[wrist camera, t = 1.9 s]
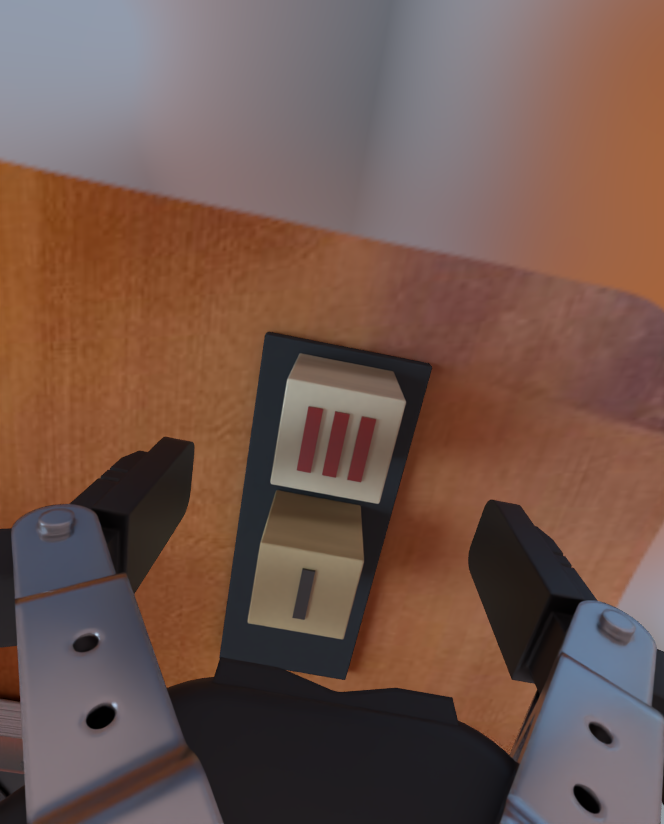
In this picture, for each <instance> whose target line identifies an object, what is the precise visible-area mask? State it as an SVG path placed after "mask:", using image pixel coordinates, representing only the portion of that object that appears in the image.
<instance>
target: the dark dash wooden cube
mask: <svg viewBox="0 0 664 824" xmlns="http://www.w3.org/2000/svg"><path fill="white" fill-rule="evenodd" d="M363 564H364V552H363V536H362V519H361V506H360V505H355V504H350V503H344V502H339V501H333V500H328V499H323V498H317V497H312V496H306V495H301V494H295V493H290V492H285V491H279V490H276V492H275V495H274V499H273V502H272V505H271V509H270V512H269V515H268V519H267V522H266V526H265V529H264V532H263V536H262V539H261V542H260V548H259V554H258V560H257V566H256V572H255V578H254V585H253V591H252V597H251V603H250V609H249V615H248V623H250V624H256V625H262V626H267V627H273V628H279V629H285V630H291V631H296V632H302V633H308V634H314V635H319V636H325V637H331V638H337V639H343V638H344V636H345V632H346V628H347V624H348V620H349V617H350V613H351V609H352V605H353V602H354V598H355V594H356V590H357V586H358V583H359V579H360V575H361V571H362V568H363Z"/></svg>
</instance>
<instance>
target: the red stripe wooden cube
mask: <svg viewBox="0 0 664 824" xmlns="http://www.w3.org/2000/svg"><path fill="white" fill-rule="evenodd" d="M405 405H406V401H405V398H404V396H403V393H402V391H401V389H400V386H399V384H398V381H397V379H396V376H395V374H394V372H393V371H388V370H383V369H378V368H373V367H368V366H363V365H358V364H352V363H347V362H342V361H337V360H332V359H327V358H322V357H317V356H312V355H307V354H302V353H301V354H299V356H298V358H297V360H296V362H295V364H294V366H293V368H292V370H291V372H290V375H289V377H288V379H287V383H286V389H285V395H284V401H283V407H282V413H281V420H280V426H279V432H278V438H277V444H276V450H275V456H274V462H273V468H272V474H271V480H270V482H271V484H273V485H279V486H284V487H290V488H295V489H301V490H306V491H311V492H317V493H322V494H328V495H333V496H338V497H344V498H349V499H355V500H360V501H365V502H371V503H376V504H379V502H380V499H381V495H382V492H383V488H384V484H385V480H386V477H387V473H388V469H389V465H390V461H391V458H392V454H393V450H394V446H395V443H396V439H397V435H398V431H399V427H400V424H401V420H402V416H403V412H404V409H405Z"/></svg>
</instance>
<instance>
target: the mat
mask: <svg viewBox="0 0 664 824" xmlns="http://www.w3.org/2000/svg"><path fill="white" fill-rule="evenodd" d="M301 353H302V354H307V355H312V356H317V357H322V358H327V359H332V360H337V361H342V362H347V363H352V364H358V365H363V366H368V367H373V368H378V369H383V370H388V371H393V372H394V374H395V376H396V379H397V381H398V384H399V386H400V389H401V391H402V393H403V396H404V398H405V401H406V405H405V409H404V412H403V416H402V420H401V424H400V427H399V431H398V435H397V439H396V443H395V446H394V450H393V454H392V458H391V461H390V465H389V469H388V473H387V477H386V480H385V484H384V488H383V492H382V495H381V499H380V502H379V504H376V503H371V502H365V501H360V500H355V499H349V498H344V497H338V496H333V495H328V494H322V493H317V492H311V491H306V490H301V489H295V488H290V487H284V486H279V485H273V484H271V482H270V480H271V474H272V468H273V462H274V456H275V450H276V444H277V438H278V432H279V426H280V420H281V413H282V407H283V401H284V395H285V389H286V383H287V379H288V377H289V375H290V372H291V370H292V368H293V366H294V364H295V362H296V360H297V358H298V356H299V354H301ZM431 370H432V366H431V365H430V364H429V363H424V362H419V361H414V360H409V359H404V358H399V357H394V356H389V355H384V354H379V353H374V352H369V351H364V350H359V349H354V348H349V347H344V346H338V345H333V344H328V343H323V342H318V341H313V340H308V339H303V338H298V337H293V336H288V335H283V334H278V333H273V332H267V333H266V334H265V339H264V346H263V353H262V360H261V367H260V375H259V382H258V389H257V396H256V403H255V410H254V417H253V424H252V431H251V438H250V445H249V452H248V459H247V466H246V474H245V481H244V488H243V495H242V502H241V509H240V516H239V523H238V530H237V537H236V544H235V551H234V558H233V565H232V572H231V580H230V587H229V594H228V601H227V608H226V615H225V622H224V629H223V636H222V643H221V650H220V657H224V658H229V659H235V660H241V661H246V662H252V663H258V664H263V665H269V666H275V667H279V668H281V669H284V670H289V671H295V672H301V673H307V674H313V675H319V676H325V677H330V678H336V679H342V680H345V679H346V675H347V672H348V668H349V665H350V661H351V657H352V654H353V650H354V647H355V643H356V639H357V636H358V632H359V629H360V625H361V621H362V618H363V614H364V611H365V607H366V603H367V600H368V596H369V593H370V589H371V585H372V582H373V578H374V575H375V571H376V568H377V564H378V560H379V557H380V553H381V550H382V546H383V542H384V539H385V535H386V532H387V528H388V524H389V521H390V517H391V514H392V510H393V506H394V503H395V499H396V496H397V492H398V488H399V485H400V481H401V478H402V474H403V470H404V467H405V463H406V460H407V456H408V452H409V449H410V445H411V442H412V438H413V434H414V431H415V427H416V424H417V420H418V416H419V413H420V409H421V406H422V402H423V398H424V395H425V391H426V388H427V384H428V381H429V377H430V373H431ZM276 490H279V491H285V492H290V493H295V494H301V495H306V496H312V497H317V498H323V499H328V500H333V501H339V502H344V503H350V504H355V505H360V506H361V519H362V536H363V552H364V564H363V568H362V571H361V575H360V579H359V583H358V586H357V590H356V594H355V598H354V602H353V605H352V609H351V613H350V617H349V620H348V624H347V628H346V632H345V636H344V638H343V639H337V638H331V637H325V636H319V635H314V634H308V633H302V632H296V631H291V630H285V629H279V628H273V627H267V626H262V625H256V624H250V623H248V615H249V609H250V603H251V597H252V591H253V585H254V578H255V572H256V566H257V560H258V554H259V548H260V542H261V539H262V536H263V532H264V529H265V526H266V522H267V519H268V515H269V512H270V509H271V505H272V502H273V499H274V495H275V492H276ZM220 657H219V658H220Z"/></svg>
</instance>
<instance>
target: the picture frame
mask: <svg viewBox="0 0 664 824" xmlns="http://www.w3.org/2000/svg"><path fill="white" fill-rule="evenodd" d="M23 785H25V776H24V758H23V740H22V722H21V704H20V702H17V701H12V700H5V699H0V802H1V801H2V800H4V799H5V798H6V797H8V796H9V795H11V794H12V793H13V792H15V791H16V790H18V789H19V788H20V787H22V786H23Z"/></svg>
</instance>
